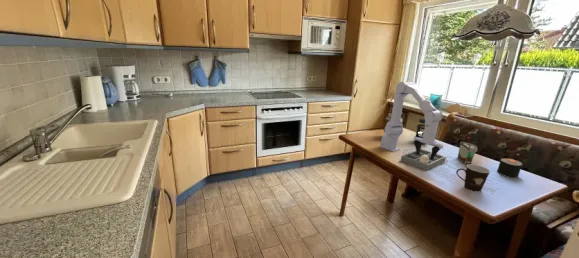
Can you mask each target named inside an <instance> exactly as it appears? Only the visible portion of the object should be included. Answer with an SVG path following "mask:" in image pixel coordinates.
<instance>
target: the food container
mask: <svg viewBox="0 0 579 258" xmlns="http://www.w3.org/2000/svg"><path fill="white" fill-rule="evenodd" d="M477 152H478V146H476V145H475V144H472V143H469V142H465V141H460V143H459V149H458V154H457V159H458V160H459V161H461V162H462V163H463V164H464V165H470V164H471V165H472V162H473V160H474V156H475V153H477Z"/></svg>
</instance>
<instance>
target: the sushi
mask: <svg viewBox="0 0 579 258" xmlns="http://www.w3.org/2000/svg"><path fill="white" fill-rule="evenodd" d="M522 166H523V163H522V162H521V161H520V160H515V159H513V158H501V159H500V160H499V164H498V168H497V171H496V172H497V173H498V172H499V173H498V174H500V173H501V174H500V175H502V174H503V175H502V176H504V175H505V176H504V177H507V176H508V177H507V178H518V177H519V175H520V172H521V169H522Z"/></svg>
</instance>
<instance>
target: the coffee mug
mask: <svg viewBox="0 0 579 258" xmlns="http://www.w3.org/2000/svg"><path fill="white" fill-rule="evenodd" d="M459 171H464V173H465V177H464V178H463V177H461V176H460V174H459ZM490 172H491V171H490V169H488V168H486V167H485V166H482V165H477V164H472V163H471V164H466V169H464V168H458V169H457V170H456V171H455V173H456V176H458V177H459V178H460V179H461V180H462V181H463V182H464V188H466V189H467V190H469V191H471V190H472V192H475V191H477V192H478V193H479V191H480V192H481V191H482V189H483V187H484V185H485V183H486V182H487V179H488V176H489V174H490ZM477 192H476V193H477Z"/></svg>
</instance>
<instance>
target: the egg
mask: <svg viewBox="0 0 579 258" xmlns="http://www.w3.org/2000/svg"><path fill="white" fill-rule="evenodd" d="M419 162H422V163H424V164H428V162H429V157H428V156H427V155H422V156H421V157H420V160H419Z"/></svg>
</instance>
